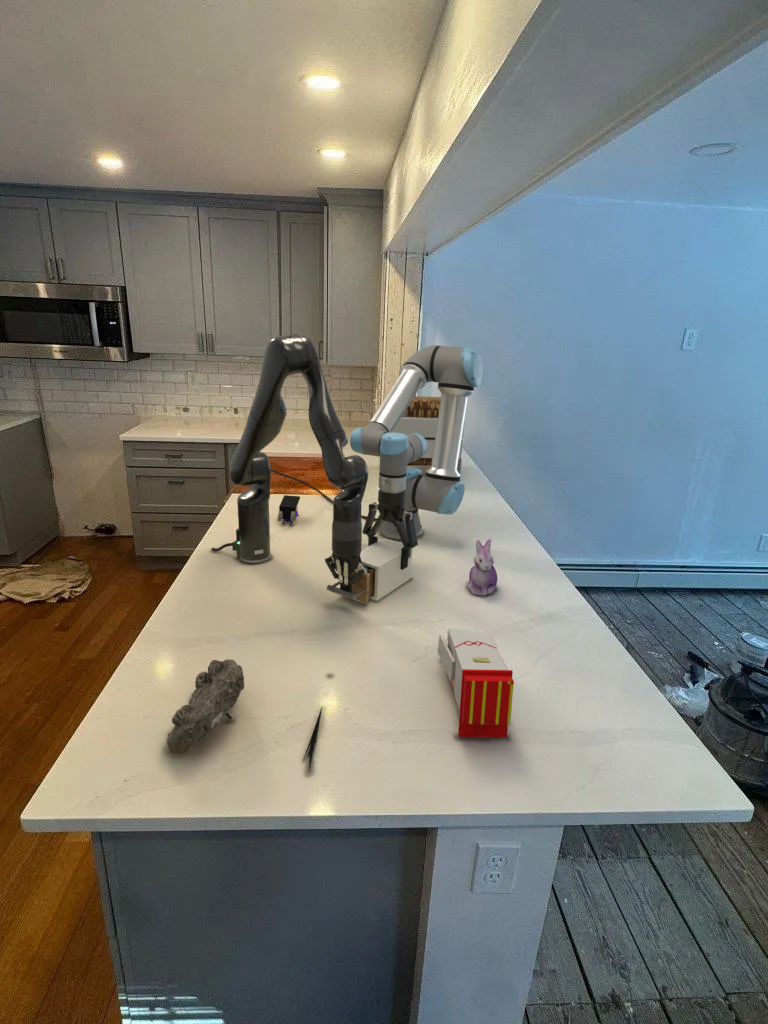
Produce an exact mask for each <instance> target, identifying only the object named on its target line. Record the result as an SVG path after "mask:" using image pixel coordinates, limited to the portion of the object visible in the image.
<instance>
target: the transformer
mask: <svg viewBox="0 0 768 1024" xmlns="http://www.w3.org/2000/svg"><path fill="white" fill-rule="evenodd" d="M440 401H441V396H416V395H415V396H414V398H413V399H412V401H411V403H410V404H409V406H408V407H407V409H406V411H405V412H404V414H403V415H402V417H401V419H400V420H399V422H398V423H397V425H396V427H395V428H394V430H393V431H392V433H402V434H405V435H408V434H411V433H412V434H414V433H417V434H420V435H422V436H423V437H424V438H425V440H426V442H427V451H426V453H425V455H424V456H422V457H421V458H420V459H419V460H416V461H413V462H411V463H409V464H407V467H410V466H411V467H417V466H418V467H431V464H432V457H433V450H434V443H435V436H436V429H437V422H438V415H439V408H440ZM464 422H465V419H464ZM464 429H465V425H464V426H463V432H462V439H463V438H464V431H465V430H464ZM462 439H461V445H460V452H459V458H458V465H457V471H458V473H459V474H460V475H461V472H462V461H463V460H462V453H463V442H464V441H463V440H462Z"/></svg>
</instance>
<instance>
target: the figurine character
mask: <svg viewBox="0 0 768 1024" xmlns="http://www.w3.org/2000/svg"><path fill="white" fill-rule="evenodd" d="M300 499H301V495H287V494H284V495H283V497H282V500H281V502H280V504H279V506H278V514H277V521H279V522H282V523H281V525H283V526H284V525H285V524H286V523H290V524H289V525H290V526H292V525H293V523H294V522H295V521H296V519H297V517H299V513H298V511H299V507H298V504H299V502H300Z"/></svg>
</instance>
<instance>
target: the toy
mask: <svg viewBox="0 0 768 1024" xmlns="http://www.w3.org/2000/svg"><path fill="white" fill-rule="evenodd" d="M446 640H447V643H446V641H445V639H444V636H443V635H442V634H439V637H438V646H437V656H438V657H439V659H440V661H441V663H442V666H443V668H444V670H445V672H446V674H447V677H448V679H449V681H450V684H451V687H452V690H453V693H454V697H455V701H456V705H457V708H458V711H459V714H458V715H459V716H458V730H457V731H458V732H457V737H458V738H508V731H509V726H510V725H511V717H512V707H513V697H514V696H513V695H514V684H515V680H514V679H513V673H514V671H513V670H512V669H508V667H507V665H506V662H505V661H504V659H503V658H502V655H501V653H500V651H499V649H498V647H497V643H496V639H495V637H494V635H493V634H491V632H490V631H489V629H467V628H466V629H465V628H463V629H461V628H460V629H459V628H448V630H447V639H446Z"/></svg>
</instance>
